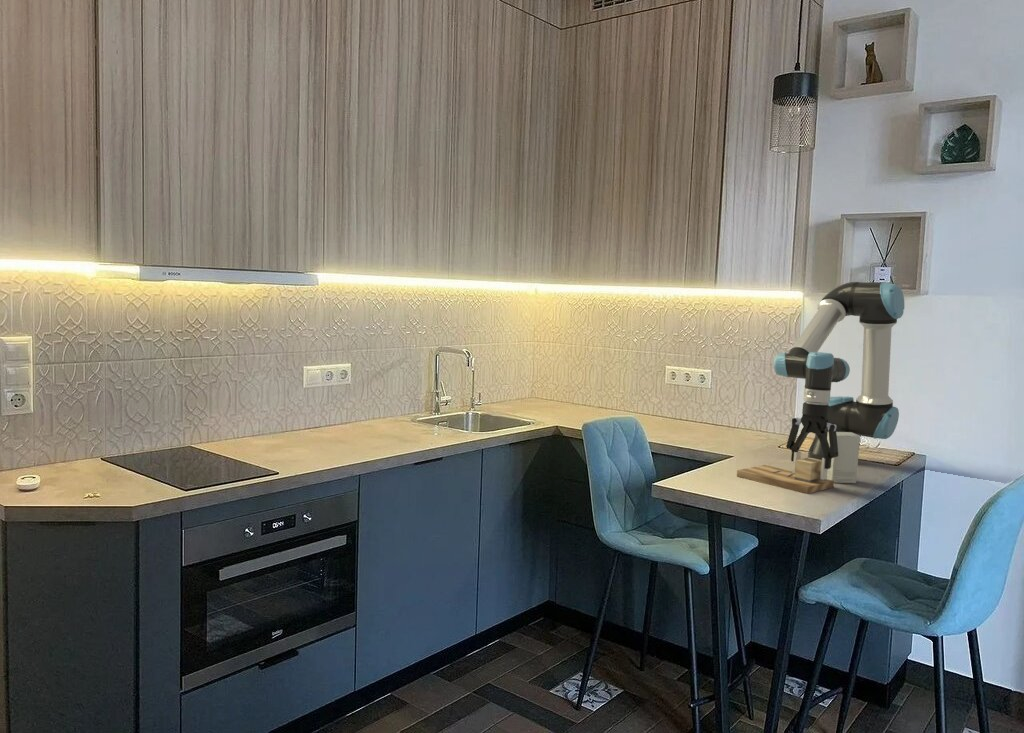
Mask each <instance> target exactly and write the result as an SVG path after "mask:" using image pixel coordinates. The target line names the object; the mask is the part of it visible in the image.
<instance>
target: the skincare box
mask: <svg viewBox="0 0 1024 733" xmlns="http://www.w3.org/2000/svg"><path fill="white" fill-rule="evenodd" d="M836 434H837V445H838V457H834V458H832V459H831V467H830V469H828V472H827V479H829V480H833V481H834V484H836V483H837V484H856V483H857V477H858V465H859V455H860V443H861V436H860V435H857V434H855V433H852V432H836ZM827 440H828V443H829V446H830V442H829V432H828V434H827Z"/></svg>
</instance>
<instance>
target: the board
mask: <svg viewBox="0 0 1024 733" xmlns="http://www.w3.org/2000/svg"><path fill="white" fill-rule="evenodd" d="M792 472H793V470H789V469H785V468H780V467H775V466H772V465H771V466H770V465H766V464H762V465H757V466H753V467H752V466H751V467H746V468H742V469H738V470H736V477H738V478H742V479H746V480H750V481H754V482H757V483H758V482H759V483H762V484H767V485H771V486H775V487H779V488H782V489H785V490H790V491H794V492H797V493H798V492H799V493H803V494H805V495H806V494H807V495H808V494H812V493H815V492H820V491H824V490H828V489H831V488H834V487H835V483H834V481H833V480H829V479H823V480H820V481H816V482H812V483H808V482H804V481H800V480H795V473H792Z"/></svg>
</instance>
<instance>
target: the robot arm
mask: <svg viewBox="0 0 1024 733" xmlns="http://www.w3.org/2000/svg"><path fill="white" fill-rule="evenodd" d="M904 310H905V296H904V293H903V290H902V289H901V286H899V285H898V284H895V283H890V282H872V281H870V282H866V281H863V282H861V281H860V282H859V281H850V282H846V283H844V284H843V283H842V284H841V285H838V286H837V287H835V288H833V289H832V290H830V291H829V292H828V293H827V294H825V295H824V296H823V297H822V299H821V300H820V301H819V303H818V305H817V311H816V313H815V314H814V315H813V317H812V318H811V319H810V321H809V323H808V324H807V325H806V327H805V328H804V330H803V331H802V333H801V334H800V335H799V337H798V339H797V340H796V341H795V342H794V344H793V346H792V347H791V349H789V352H788V353H786V352H784V353H783V352H781V353H778V354H777V355H776V356H775V358H774V360H773V369H774V372H775V374H776V375H778V376H782V377H785V378H794V379H803V380H805V381H804V390H803V401H804V402H803V403H802V410H801V412H802V413H801V414H802V415H801V417H800V418H799V417H792V418H791V429H790V432H789V435H788V439H787V443H786V445H785V447H786V449H788V450H790V451H791V456H790V457H791V459H790V460H791V462H793V464H792V471H793V472H792V473H795V468H796V460H799V459H801V456H802V452H801V451H800V449H801V447H802V445H803V443H804V442H805V440H806V438H807V436H808V435H809V434H810V433H812V434H814V438H813V440H812V443H811V444H810V447H809V449H808V454H807V458H814V459H819V460H822V465H821V475H820V479H822V480H823V479H827V472H828V469H830V467H831V459H832V458H834V457H838V445H837V434H836V432H852V433H855V434H857V435H859V436H860V437H867V438H873V439H876V440H877V439H880V440H888V439H889V438H890V437H891V436H892V435H893V434H894V432H895V430H896V429H897V424H898V422H899V416H900V412H899V411H900V410H899V409H898V407H896V406H894V401H893V399H892V398H891V397H890V396H889V390H890V389H889V387H890V367H891V363H890V362H891V346H892V344H891V343H892V329H893V327H894V326H895V325H897V323H898V319H901V318H903V315H904ZM850 316H854V317H859V318H858V319H859V321H858V322H859V324H860V325H862V326H863V343H862V366H861V367H862V368H861V390H860V395H859V396H857V397H856V401H855V399H854V397H853V396H831V391H832V383H838V382H842V381H844V380H846V379H847V378H848V376H849V374H850V373H851V369H850V364H849V363H848V362H847V360H845V359H843V358H840V357H835V356H834V355H833V353H831V352H830V353H829V352H819V350H820V349H821V348H822V346H824V343H825V342H826V340H827V338H829V335H830V334H831V333H832V331H833V330H834V328H836V325H837V324H838V323H839V322H842V321H843V320H844V319H845V318H846V317H850ZM800 425H802V426H803V427H802V428H801V429H800ZM799 429H800V433H799V435H798V432H799ZM828 432H829V442H830V446H829V443H828V440H827V434H828Z"/></svg>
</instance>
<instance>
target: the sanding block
mask: <svg viewBox="0 0 1024 733" xmlns="http://www.w3.org/2000/svg"><path fill="white" fill-rule="evenodd" d="M821 465H822V460H819V459H814V458H809V457H805V458H800V459H799V460H796V468H795V480H800V481H804V482H808V483H812V482H816V481H820V480H822V479H820V475H821Z"/></svg>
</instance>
